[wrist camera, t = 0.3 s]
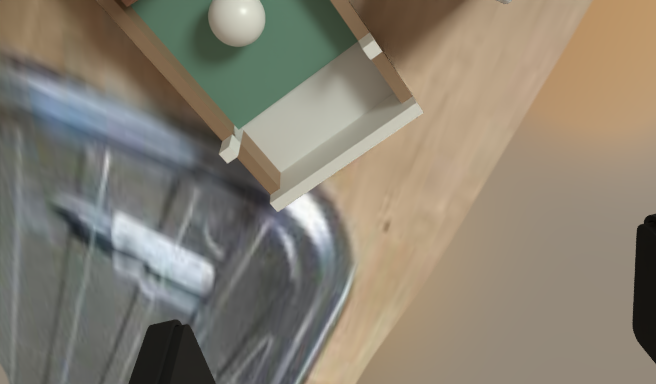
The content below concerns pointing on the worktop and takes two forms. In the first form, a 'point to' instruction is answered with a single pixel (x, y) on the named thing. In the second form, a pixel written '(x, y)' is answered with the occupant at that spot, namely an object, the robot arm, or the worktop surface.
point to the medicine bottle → (504, 1)
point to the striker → (128, 2)
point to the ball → (236, 21)
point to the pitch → (277, 85)
